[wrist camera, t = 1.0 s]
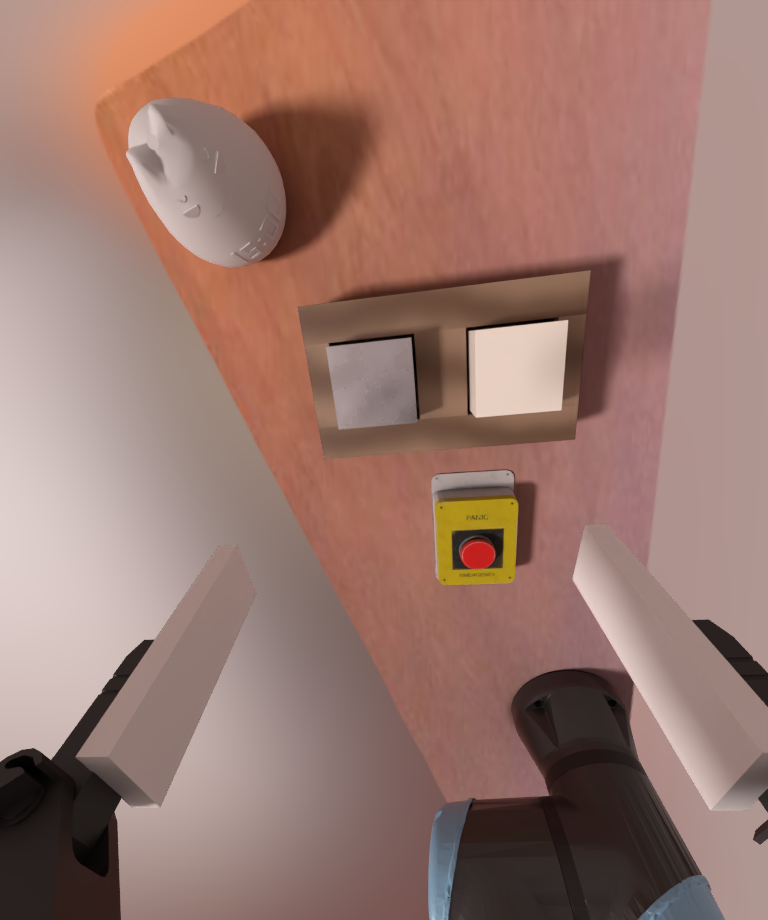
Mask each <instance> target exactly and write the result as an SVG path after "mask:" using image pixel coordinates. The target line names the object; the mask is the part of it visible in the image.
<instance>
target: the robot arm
mask: <svg viewBox="0 0 768 920" xmlns="http://www.w3.org/2000/svg"><path fill="white" fill-rule="evenodd" d="M573 581H574V583H575V584H576V586H577V588H578V589H579V591H580V593H581V594H582V596H583V598H584V599H585V601H586V603H587V604H588V606H589V608H590V609H591V611H592V613H593V614H594V616H595V618H596V620H597V621H598V623H599V625H600V626H601V628H602V630H603V631H604V633H605V635H606V636H607V638H608V640H609V641H610V643H611V645H612V646H613V648H614V650H615V651H616V653H617V655H618V656H619V658H620V660H621V661H622V663H623V665H624V666H625V668H626V670H627V672H628V673H629V675H630V677H631V678H632V680H633V682H634V683H635V685H636V686H637V688H638V690H639V692H640V693H641V695H642V697H643V698H644V700H645V702H646V703H647V705H648V707H649V708H650V710H651V712H652V713H653V715H654V717H655V718H656V720H657V722H658V723H659V725H660V727H661V729H662V730H663V732H664V733H665V735H666V737H667V738H668V740H669V742H670V744H671V745H672V747H673V749H674V750H675V752H676V754H677V755H678V757H679V759H680V760H681V762H682V764H683V765H684V767H685V769H686V770H687V772H688V774H689V775H690V777H691V779H692V780H693V782H694V784H695V786H696V787H697V789H698V790H699V792H700V794H701V796H702V797H703V799H704V801H705V802H706V804H707V806H708V807H709V809H710V810H711V811H747V810H748V809H749V808H750V807H751V806H752V805H754V804H755V802H757V801H758V800H759V801H760V802H761V803H762V805H763V806H764V808H765V809H766V811H767V812H768V673H767V672H766V671H765V670H764V669H763V668H762V666H761V665H760V664H758V662H757V661H754V660H753V657H752V656H751V655H750V654H749V653H748V652H747V651H746V650H745V649H744V648H743V647H742V646H741V644H740V643H739V642H738V641H737V640H736V639H735V638H734V637H733V636H731V635H730V634H729V633H727V632H726V631H724V630H723V629H721V628H720V627H718V626H717V625H716V624H714V623H713V622H711V621H710V620H691V619H690V618H689V617H688V616H687V615H686V613H685V612H684V611H683V610H682V609H681V608H680V607H679V606H678V604H677V603H676V602H675V601H674V600H673V599H672V597H671V596H670V595H669V594H668V593H667V592H666V591H665V589H664V588H663V587H662V586H661V585H660V584H659V583H658V581H657V580H656V579H655V578H654V577H653V576H652V575H651V574H650V572H649V571H648V570H647V569H646V568H645V567H644V565H643V564H642V563H641V562H640V561H639V560H638V559H637V558H636V556H635V555H634V554H633V553H632V552H631V551H630V550H629V548H628V547H627V546H626V545H625V544H624V543H623V542H622V540H621V539H620V538H619V537H618V536H617V535H616V534H615V532H614V531H613V530H612V529H611V528H610V527H609V526H608V524H596V525H585V527H584V532H583V536H582V540H581V545H580V549H579V554H578V558H577V562H576V567H575V571H574V576H573ZM255 596H256V591H255V588H254V586H253V583H252V581H251V578H250V576H249V573H248V571H247V568H246V566H245V563H244V561H243V558H242V556H241V553H240V551H239V548H238V545H224V546H223V545H222V546H218V547H217V549H216V550H215V552H214V553H213V555H212V556H211V557H210V559H209V561H208V562H207V563H206V565H205V566H204V568H203V569H202V571H201V572H200V574H199V575H198V577H197V578H196V580H195V581H194V583H193V584H192V585H191V587H190V588H189V590H188V592H187V593H186V594H185V596H184V597H183V599H182V600H181V602H180V603H179V605H178V606H177V608H176V609H175V611H174V612H173V614H172V615H171V617H170V618H169V619H168V621H167V623H166V624H165V625H164V627H163V628H162V630H161V631H160V633H159V634H158V636H157V637H156V639H155V640H144V641H143V642H142V643H141V644H140V645H138V646H137V647H136V648H135V649H134V650H133V651H132V652H131V653H130V654H129V655H128V656H126V658H125V659H124V661H123V662H122V664H121V665H120V666H119V668H118V669H117V670H116V672H115V673H114V675H113V678H112V679H110V680H109V682H108V683H107V684H106V685H105V687H104V688H103V690H102V693H101V694H100V695H98V697H97V698H96V699H95V701H94V702H93V704H92V705H91V706H90V708H89V709H88V710H87V712H86V713H85V715H84V716H83V717H82V719H81V720H80V722H79V723H78V724H77V726H76V727H75V728H74V730H73V731H72V733H71V734H70V735H69V737H68V738H67V739H66V741H65V742H64V744H63V745H62V746H61V748H60V749H59V750H58V752H57V753H56V755H55V756H54V757H53V758H52V760H50V759H49V758H47V757H46V756H45V755H44V754H42V753H41V752H40V751H38V750H36V749H34V748H32V749H26V750H21V751H19V752H17V753H15V754H13V755H11V756H8V757H7V758H5V759H4V760H2V761H1V762H0V920H121V914H120V913H121V912H120V886H119V858H118V831H117V819H116V816H115V813H114V811H115V809H116V807H117V805H118V804H119V802H120V800H121V798H122V799H123V800H124V801H125V802H127V803H128V804H129V805H130V806H131V807H148V808H151V807H152V808H159V807H161V805H162V802H163V800H164V798H165V796H166V794H167V791H168V789H169V787H170V785H171V782H172V780H173V778H174V775H175V773H176V771H177V769H178V767H179V765H180V762H181V760H182V758H183V756H184V754H185V751H186V749H187V747H188V745H189V743H190V740H191V738H192V736H193V734H194V731H195V729H196V727H197V725H198V723H199V720H200V718H201V716H202V713H203V711H204V709H205V707H206V705H207V702H208V700H209V698H210V696H211V694H212V691H213V689H214V687H215V685H216V683H217V680H218V678H219V676H220V674H221V671H222V669H223V667H224V665H225V663H226V660H227V658H228V656H229V654H230V651H231V649H232V647H233V645H234V642H235V640H236V638H237V636H238V634H239V631H240V629H241V627H242V625H243V623H244V620H245V618H246V616H247V614H248V611H249V609H250V607H251V605H252V603H253V600H254V598H255ZM511 711H512V716H513V720H514V723H515V727H516V730H517V732H518V735H519V737H520V738H521V740H522V742H523V743H524V745H525V747H526V748H527V750H528V752H529V753H530V755H531V757H532V758H533V760H534V762H535V763H536V765H537V767H538V769H539V770H540V772H541V774H542V775H543V777H544V779H545V783H546V786H547V789H548V792H549V795H550V796H542V797H521V798H503V799H484V800H476V799H475V798H469V799H468V800H467V801H459V802H452V803H446V804H444V805H443V806H441V807H440V808H439V810H438V811H437V813H436V816H435V819H434V823H433V828H432V834H431V842H430V857H429V918H430V920H725V919H724V917H723V915H722V913H721V911H720V909H719V907H718V905H717V903H716V901H715V899H714V897H713V895H712V893H711V888H710V886H709V883H708V881H707V880H706V878H705V877H704V876H702V874H701V872H700V870H699V868H698V866H697V865H696V863H695V861H694V860H693V858H692V856H691V854H690V852H689V850H688V849H687V847H686V845H685V843H684V841H683V839H682V838H681V836H680V834H679V832H678V830H677V829H676V827H675V825H674V823H673V821H672V820H671V818H670V816H669V814H668V812H667V811H666V809H665V807H664V805H663V803H662V801H661V800H660V798H659V796H658V794H657V792H656V791H655V789H654V787H653V785H652V783H651V782H650V780H649V778H648V776H647V775H646V773H645V771H644V769H643V767H642V765H641V763H640V761H639V759H638V755H637V751H636V748H635V743H634V740H633V736H632V732H631V728H630V724H629V720H628V716H627V712H626V709H625V707H624V705H623V703H622V702H621V700H620V698H619V696H618V695H617V693H616V691H615V690H614V688H613V687H612V686H611V685H610V684H609V683H608V682H606V681H605V680H603V679H602V678H600V677H598V676H595V675H593V674H589V673H585V672H579V671H559V672H553V673H549V674H545V675H542V676H540V677H537V678H535V679H533V680H531V681H530V682H528V683H527V684H525V685H524V686H523V687H522V688H521V689H520V690H519V691H518V692H517V694H516V695H515V697H514V699H513V702H512V707H511ZM766 839H768V820H767V821H766V822H765V823H763V824H762V825H761V826H760V827H759V828H758V829H757V830H756V831H755V835H754V838H753V840H754V841H756V842H757V843H759V844H762V843H763V842H764V841H765V840H766Z"/></svg>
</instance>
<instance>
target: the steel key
mask: <svg viewBox="0 0 768 920" xmlns="http://www.w3.org/2000/svg"><path fill="white" fill-rule="evenodd" d="M326 351H327V358H328V364H329V371H330V377H331V384H332V390H333V397H334V403H335V409H336V416H337V422H338V429H351V428H363V427H374V426H386V425H397V424H409V423H417V410H416V396H415V382H414V369H413V355H412V341H411V338H402V339H393V340H384V341H375V342H366V343H357V344H348V345H339V346H330V347H326Z"/></svg>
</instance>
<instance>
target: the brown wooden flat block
mask: <svg viewBox="0 0 768 920" xmlns="http://www.w3.org/2000/svg"><path fill="white" fill-rule="evenodd" d="M590 272H591V270H589V271H581V272H573V273H565V274H557V275H549V276H541V277H533V278H525V279H517V280H509V281H501V282H493V283H485V284H476V285H468V286H460V287H452V288H444V289H436V290H428V291H420V292H412V293H404V294H396V295H388V296H380V297H372V298H364V299H356V300H348V301H340V302H332V303H324V304H316V305H308V306H300V307H298V312H299V318H300V324H301V329H302V335H303V341H304V346H305V352H306V358H307V363H308V369H309V375H310V381H311V386H312V392H313V398H314V403H315V409H316V415H317V420H318V426H319V432H320V438H321V443H322V449H323V455H324V459H331V458H344V457H356V456H369V455H382V454H395V453H408V452H421V451H433V450H446V449H459V448H472V447H485V446H498V445H510V444H523V443H536V442H549V441H562V440H575V435H576V424H577V413H578V403H579V392H580V381H581V370H582V359H583V348H584V337H585V327H586V316H587V305H588V294H589V283H590ZM564 320H568V331H567V344H566V358H565V371H564V384H563V397H562V410H560V411H548V412H536V413H525V414H513V415H502V416H490V417H478V418H476V417H475V416H474V415H473V414H472V412H471V411H470V410H469V376H468V331H474V330H483V329H492V328H501V327H510V326H519V325H528V324H537V323H546V322H555V321H564ZM402 338H411V341H412V355H413V369H414V382H415V396H416V410H417V423H409V424H397V425H386V426H374V427H363V428H351V429H338V422H337V416H336V409H335V403H334V397H333V390H332V384H331V377H330V371H329V364H328V358H327V351H326V347H330V346H339V345H348V344H357V343H366V342H375V341H384V340H393V339H402Z"/></svg>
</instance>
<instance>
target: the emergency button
mask: <svg viewBox="0 0 768 920" xmlns="http://www.w3.org/2000/svg"><path fill="white" fill-rule="evenodd" d="M431 489H432V510H433V531H434V551H435V572H436V577H437V579H439V581H440V583H442V584H444V585H464V584H498V583H510V582H512V581H513V580H514V578H515V565H516V545H517V525H518V502H517V499H516V497H515V495H514V475H513V473H512V472H511V471H509V470H491V471H474V472H457V473H441V474H437V475H435V476H434V477H433V478H432V481H431Z"/></svg>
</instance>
